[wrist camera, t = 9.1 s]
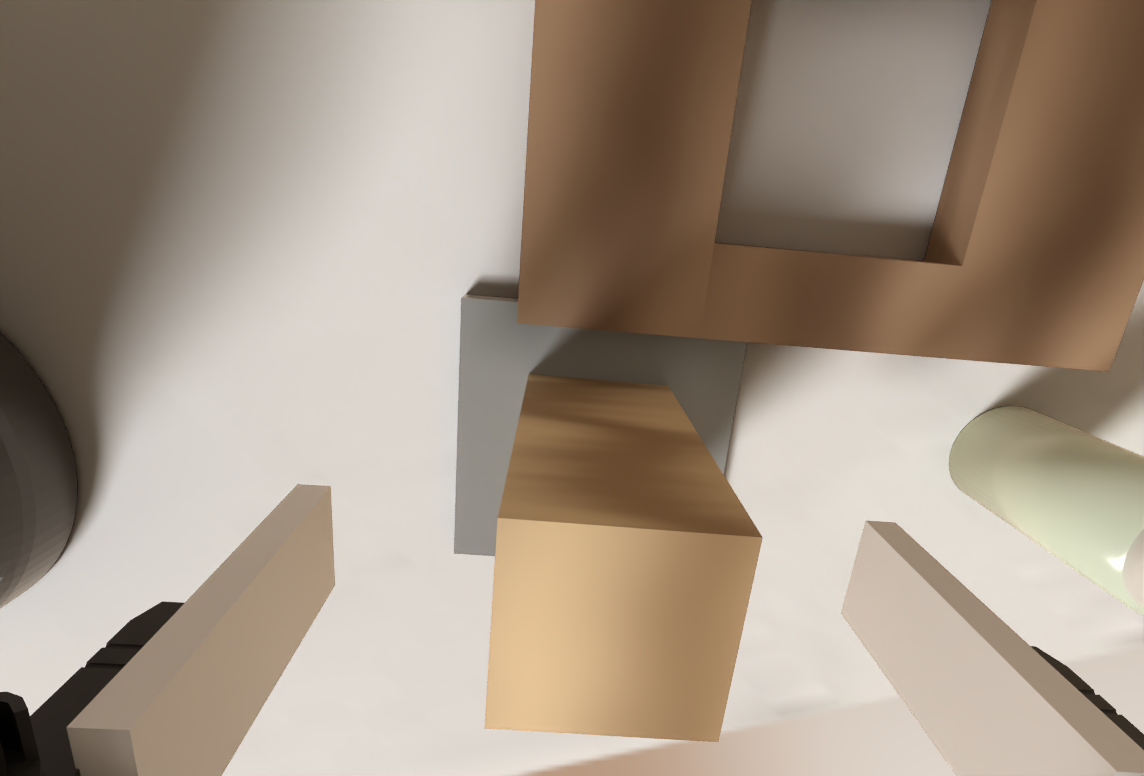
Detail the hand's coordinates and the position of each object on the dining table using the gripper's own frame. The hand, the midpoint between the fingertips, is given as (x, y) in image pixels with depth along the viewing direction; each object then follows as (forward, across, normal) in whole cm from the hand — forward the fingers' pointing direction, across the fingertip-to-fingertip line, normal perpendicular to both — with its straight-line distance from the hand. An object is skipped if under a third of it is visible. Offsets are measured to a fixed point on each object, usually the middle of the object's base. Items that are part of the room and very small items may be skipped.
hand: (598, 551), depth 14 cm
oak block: (+7, 0, 0) cm, 7 cm away
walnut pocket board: (+8, +7, +11) cm, 16 cm away
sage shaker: (+8, +16, 0) cm, 18 cm away
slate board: (+8, 0, 0) cm, 8 cm away
